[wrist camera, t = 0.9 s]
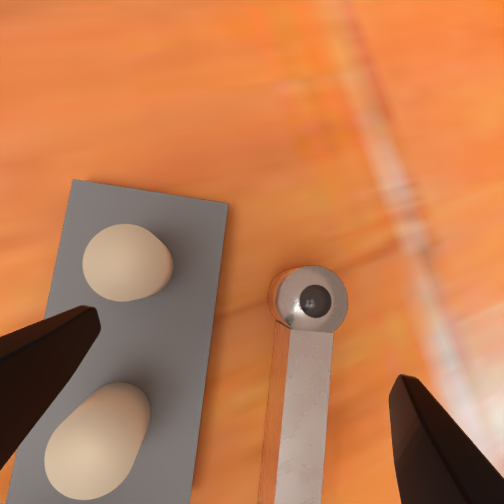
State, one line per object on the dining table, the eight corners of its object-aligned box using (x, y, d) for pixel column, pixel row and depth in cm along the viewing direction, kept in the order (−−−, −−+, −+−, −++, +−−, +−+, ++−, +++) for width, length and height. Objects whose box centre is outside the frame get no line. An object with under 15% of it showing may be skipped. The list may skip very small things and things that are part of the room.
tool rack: (190, 492, 20) (183, 570, 14) (21, 491, 18) (-57, 577, 13) (227, 208, 23) (233, 185, 17) (82, 186, 21) (39, 152, 16)
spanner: (304, 544, 21) (328, 609, 17) (241, 545, 20) (249, 614, 16) (326, 272, 23) (351, 269, 19) (270, 265, 23) (284, 261, 19)
